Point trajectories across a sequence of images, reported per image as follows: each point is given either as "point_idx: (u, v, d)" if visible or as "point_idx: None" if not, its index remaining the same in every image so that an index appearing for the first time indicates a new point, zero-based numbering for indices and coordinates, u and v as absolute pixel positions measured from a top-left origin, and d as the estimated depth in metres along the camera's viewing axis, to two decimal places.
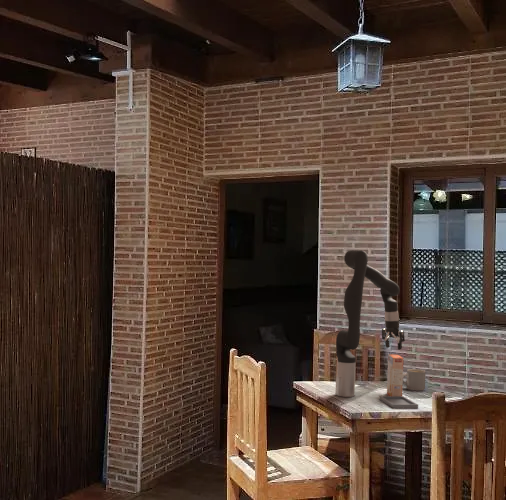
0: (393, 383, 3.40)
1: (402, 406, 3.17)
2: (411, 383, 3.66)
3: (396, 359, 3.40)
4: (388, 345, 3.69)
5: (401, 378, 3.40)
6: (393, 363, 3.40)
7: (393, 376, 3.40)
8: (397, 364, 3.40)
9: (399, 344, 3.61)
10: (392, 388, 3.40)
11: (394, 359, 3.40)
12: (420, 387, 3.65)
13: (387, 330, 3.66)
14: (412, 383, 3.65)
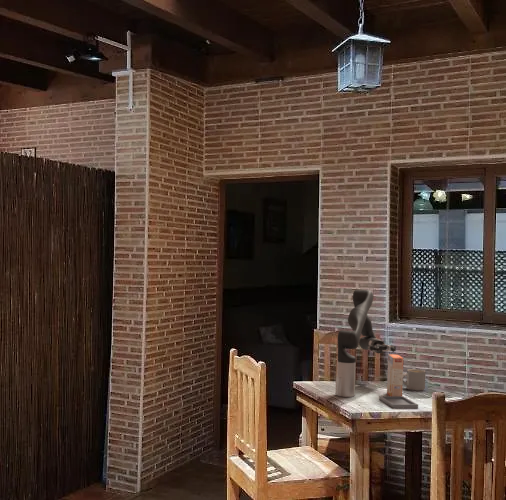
0: (393, 383, 3.40)
1: (402, 406, 3.17)
2: (411, 383, 3.66)
3: (396, 359, 3.40)
4: None
5: (401, 378, 3.40)
6: (393, 363, 3.40)
7: (393, 376, 3.40)
8: (397, 364, 3.40)
9: (393, 347, 3.65)
10: (392, 388, 3.40)
11: (394, 359, 3.40)
12: (420, 387, 3.65)
13: (375, 345, 3.71)
14: (412, 383, 3.65)
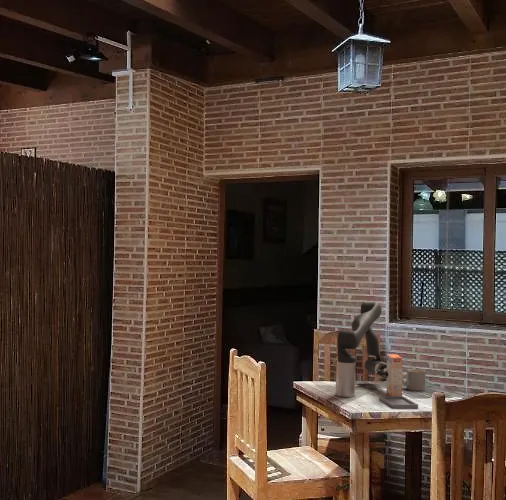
0: (393, 383, 3.40)
1: (402, 406, 3.17)
2: (411, 383, 3.66)
3: (395, 359, 3.40)
4: None
5: (400, 378, 3.40)
6: (392, 363, 3.40)
7: (392, 376, 3.40)
8: (396, 364, 3.40)
9: None
10: (392, 388, 3.40)
11: (393, 359, 3.40)
12: (420, 387, 3.65)
13: (382, 369, 3.58)
14: (412, 383, 3.65)
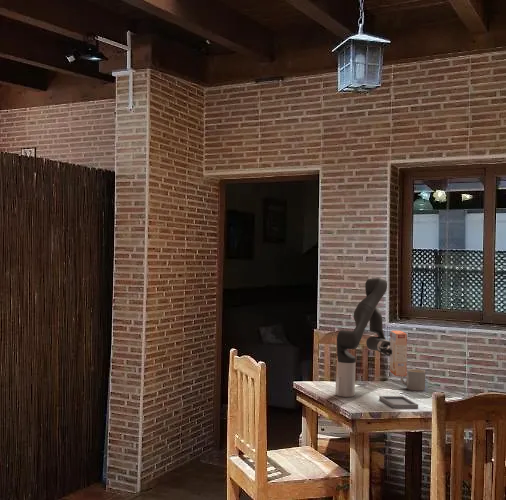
0: (397, 360, 3.23)
1: (402, 406, 3.17)
2: (411, 383, 3.66)
3: (399, 335, 3.23)
4: None
5: (405, 355, 3.23)
6: (396, 339, 3.23)
7: (396, 353, 3.23)
8: (400, 340, 3.23)
9: None
10: (396, 365, 3.23)
11: (397, 335, 3.23)
12: (420, 387, 3.65)
13: (385, 347, 3.41)
14: (412, 383, 3.65)
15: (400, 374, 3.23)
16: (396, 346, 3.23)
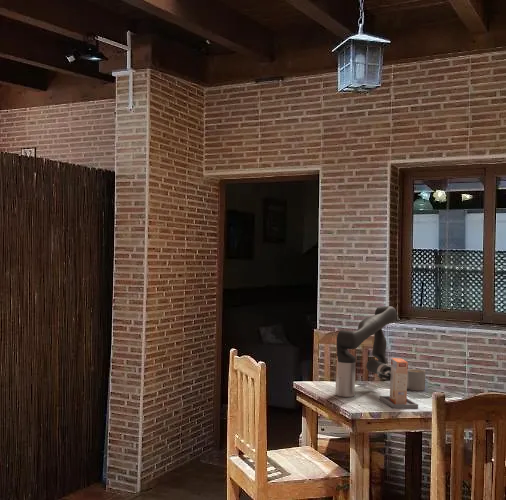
0: (397, 389, 3.21)
1: (402, 406, 3.17)
2: (411, 383, 3.66)
3: (400, 363, 3.21)
4: None
5: (405, 383, 3.21)
6: (397, 367, 3.21)
7: (397, 381, 3.21)
8: (401, 369, 3.21)
9: None
10: (396, 394, 3.21)
11: (398, 363, 3.21)
12: (420, 387, 3.65)
13: (385, 372, 3.39)
14: (412, 383, 3.65)
15: (400, 403, 3.21)
16: (397, 374, 3.21)
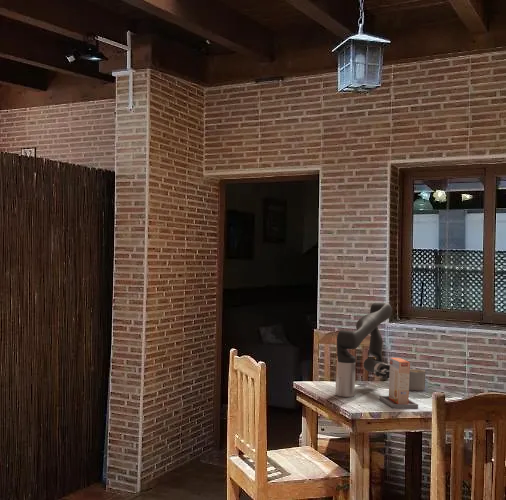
0: (399, 388, 3.22)
1: (402, 406, 3.17)
2: (411, 383, 3.66)
3: (402, 363, 3.22)
4: None
5: (407, 383, 3.22)
6: (399, 367, 3.22)
7: (399, 381, 3.22)
8: (403, 368, 3.22)
9: None
10: (398, 394, 3.22)
11: (400, 363, 3.22)
12: (420, 387, 3.65)
13: (382, 370, 3.44)
14: (412, 383, 3.65)
15: (402, 402, 3.22)
16: (399, 374, 3.22)
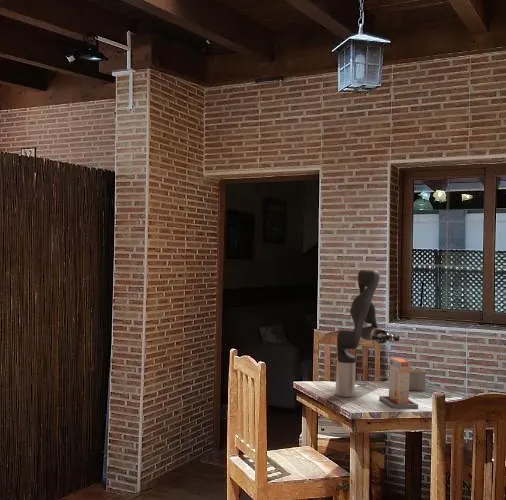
0: (399, 388, 3.22)
1: (402, 406, 3.17)
2: (411, 383, 3.66)
3: (402, 363, 3.22)
4: None
5: (407, 383, 3.22)
6: (399, 367, 3.22)
7: (399, 381, 3.22)
8: (403, 368, 3.22)
9: (396, 337, 3.46)
10: (398, 394, 3.22)
11: (400, 363, 3.22)
12: (420, 387, 3.65)
13: (378, 334, 3.52)
14: (412, 383, 3.65)
15: (402, 402, 3.22)
16: (399, 374, 3.22)
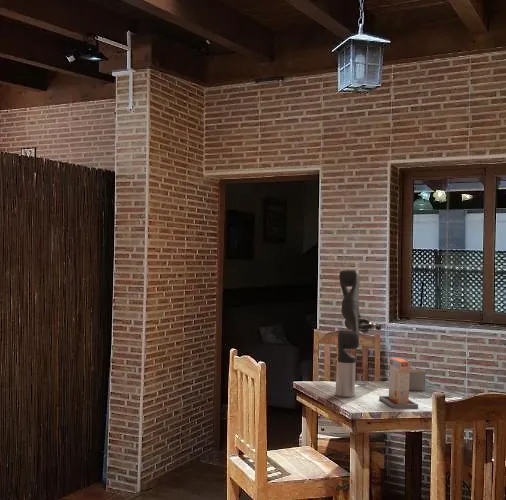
0: (399, 388, 3.22)
1: (402, 406, 3.17)
2: (411, 383, 3.66)
3: (402, 363, 3.22)
4: None
5: (407, 383, 3.22)
6: (399, 367, 3.22)
7: (399, 381, 3.22)
8: (403, 368, 3.22)
9: (378, 326, 3.60)
10: (398, 394, 3.22)
11: (400, 363, 3.22)
12: (420, 387, 3.65)
13: None
14: (412, 383, 3.65)
15: (402, 402, 3.22)
16: (399, 374, 3.22)
